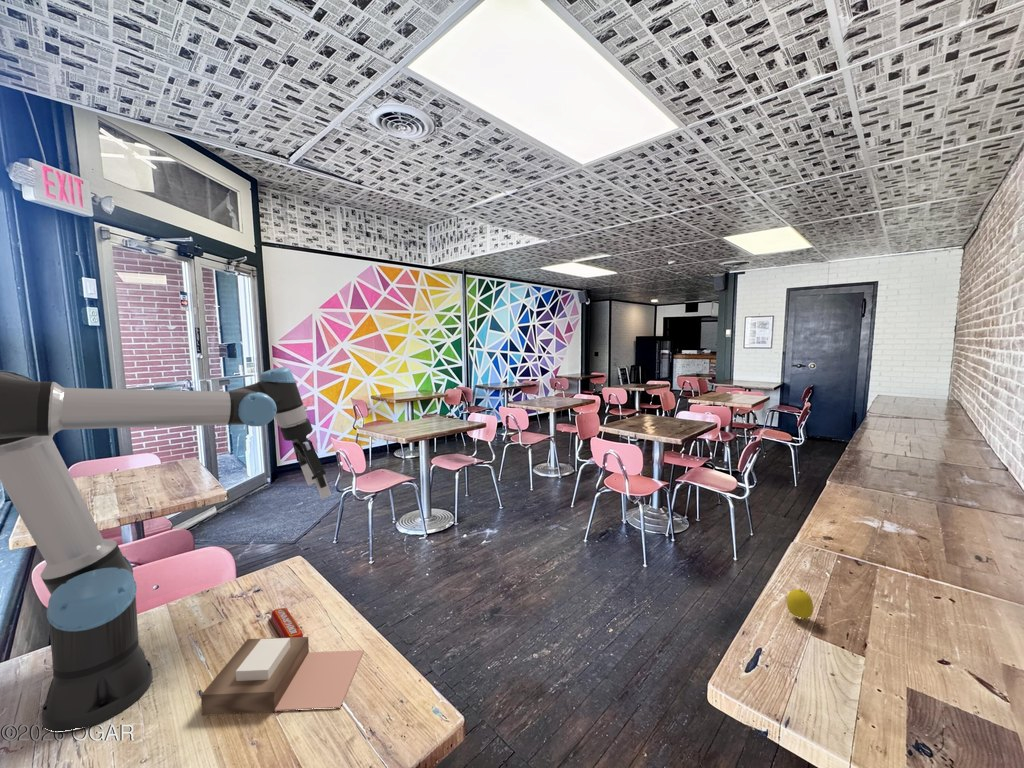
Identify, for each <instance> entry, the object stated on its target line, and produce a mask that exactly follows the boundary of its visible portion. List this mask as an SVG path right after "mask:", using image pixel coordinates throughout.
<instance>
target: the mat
mask: <svg viewBox="0 0 1024 768" xmlns="http://www.w3.org/2000/svg"><path fill="white" fill-rule="evenodd" d="M364 652H365V651H364V650H363V649H360V650H357V649H355V650H334V651H331V650H330V651H309V653H308V654H307V656H306V658H305V659H304V661H303V663H302V665H301V666H300V668H299V670H298V671H297V673H296V675H295V676H294V678H293V680H292V681H291V683H290V685H289V686H288V688H287V690H286V692H285V693H284V695H283V697H282V698H281V700H280V702H279V703H278V705H277V707H276V708H275V712H274V713H278V712H277V711H283V712H288V711H287V710H296V709H297V710H298V709H312V708H313V709H314V708H333V707H334V708H339V707H341V708H342V706H343V704H342V703H344V701H343V700H345V699H344V698H346V696H347V694H348V691H349V688H350V687H349V686H351V684H352V682H353V679H354V677H355V674H356V671H357V670H356V669H358V667H359V665H358V664H360V661H361V660H362V657H363V655H364ZM362 654H363V655H362ZM360 659H361V660H360ZM357 666H358V667H357ZM341 705H342V706H341ZM285 710H286V711H285Z"/></svg>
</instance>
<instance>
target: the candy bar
mask: <svg viewBox="0 0 1024 768" xmlns="http://www.w3.org/2000/svg"><path fill="white" fill-rule="evenodd" d="M270 614H271V621H272V622H273V624H274V626H275V628H276V629H277V631H278V633H279V635H280V638H290V637H304V633H303V631H302V630H301V628H300V626H299V625H298V623H297V622H296V620H295V618H294V617H293V616H292V614H291V613H290V611H289V610H288V609H287V608H286V607H284V608H283V607H281V608H275V609H274V610H272V612H271V613H270Z"/></svg>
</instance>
